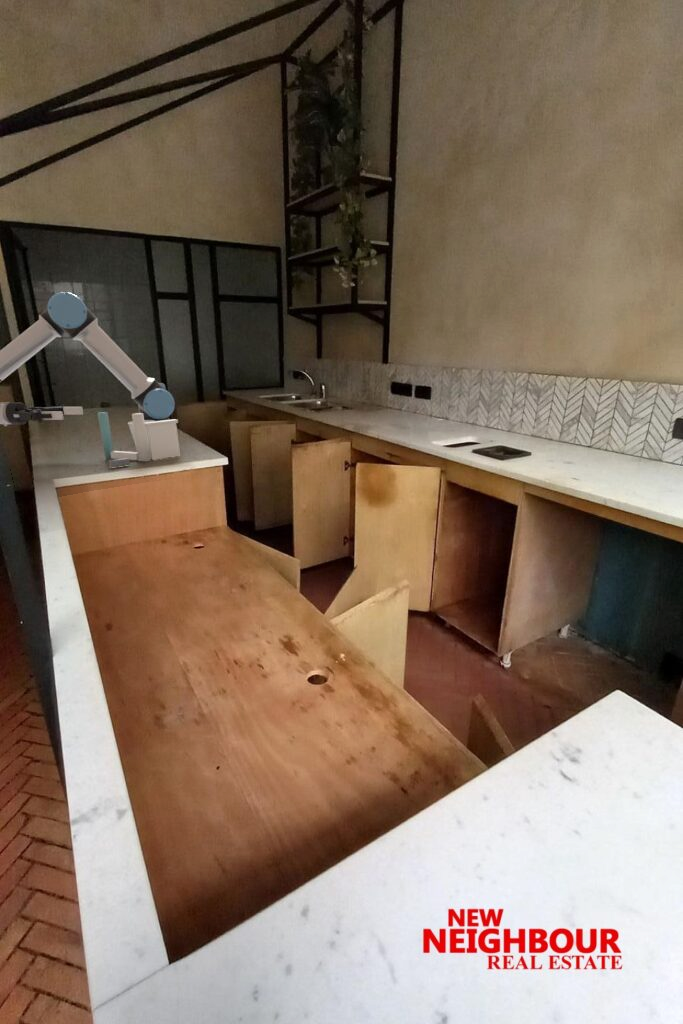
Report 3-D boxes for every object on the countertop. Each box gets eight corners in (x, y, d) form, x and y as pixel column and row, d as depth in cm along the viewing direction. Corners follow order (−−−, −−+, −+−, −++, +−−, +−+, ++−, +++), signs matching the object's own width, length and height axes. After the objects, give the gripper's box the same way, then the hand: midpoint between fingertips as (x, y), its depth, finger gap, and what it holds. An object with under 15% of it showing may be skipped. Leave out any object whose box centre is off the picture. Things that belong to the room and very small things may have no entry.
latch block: (128, 464, 168) (127, 457, 167) (130, 465, 166) (129, 458, 165) (109, 467, 164) (108, 460, 163) (111, 468, 162) (110, 461, 162)
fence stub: (179, 454, 181) (174, 419, 177) (182, 456, 179) (177, 419, 175) (148, 459, 175) (143, 422, 170) (151, 461, 172) (146, 423, 168)
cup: (133, 454, 183) (128, 424, 180) (130, 450, 192) (126, 421, 188) (161, 451, 188) (157, 422, 184) (157, 447, 196) (153, 419, 192)
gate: (152, 459, 173) (145, 413, 168) (145, 461, 170) (138, 414, 165) (110, 456, 179) (102, 411, 174) (102, 458, 176) (94, 413, 171)
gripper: (34, 419, 185) (91, 418, 185) (-11, 430, 161) (55, 429, 161) (30, 398, 182) (88, 398, 182) (-16, 406, 159) (50, 406, 159)
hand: (72, 413), depth 172 cm, fingers open, 13 cm apart
